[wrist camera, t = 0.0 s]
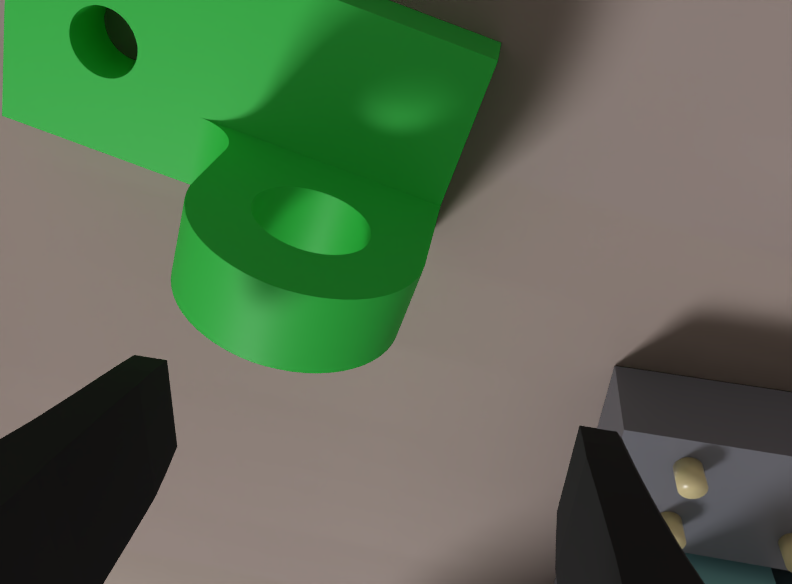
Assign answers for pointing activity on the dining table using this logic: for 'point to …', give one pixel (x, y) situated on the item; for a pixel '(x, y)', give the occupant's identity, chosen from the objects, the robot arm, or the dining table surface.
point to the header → (711, 462)
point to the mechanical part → (270, 150)
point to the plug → (729, 571)
